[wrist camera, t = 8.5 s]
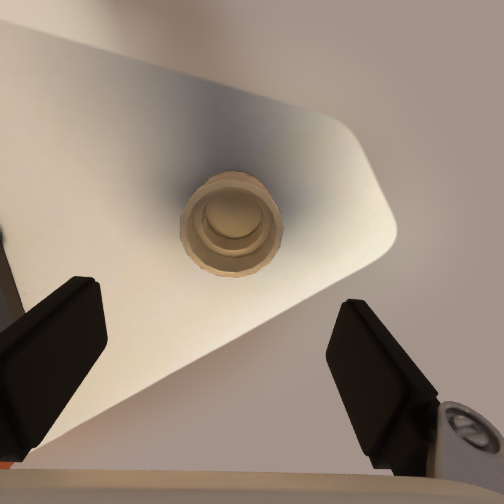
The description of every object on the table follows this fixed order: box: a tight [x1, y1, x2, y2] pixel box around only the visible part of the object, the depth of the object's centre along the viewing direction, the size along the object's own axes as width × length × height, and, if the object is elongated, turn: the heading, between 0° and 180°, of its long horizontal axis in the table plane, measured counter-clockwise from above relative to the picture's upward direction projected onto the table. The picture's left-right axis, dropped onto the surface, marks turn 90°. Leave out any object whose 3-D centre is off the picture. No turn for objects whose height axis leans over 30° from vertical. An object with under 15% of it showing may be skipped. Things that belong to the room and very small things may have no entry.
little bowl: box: [180, 171, 283, 278], centre depth 20 cm, size 7×7×6 cm
